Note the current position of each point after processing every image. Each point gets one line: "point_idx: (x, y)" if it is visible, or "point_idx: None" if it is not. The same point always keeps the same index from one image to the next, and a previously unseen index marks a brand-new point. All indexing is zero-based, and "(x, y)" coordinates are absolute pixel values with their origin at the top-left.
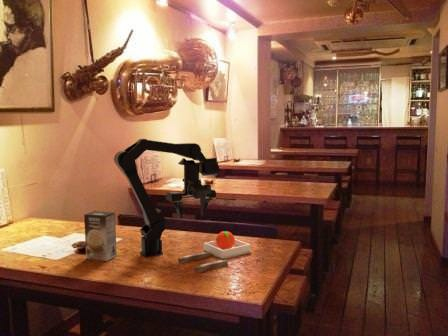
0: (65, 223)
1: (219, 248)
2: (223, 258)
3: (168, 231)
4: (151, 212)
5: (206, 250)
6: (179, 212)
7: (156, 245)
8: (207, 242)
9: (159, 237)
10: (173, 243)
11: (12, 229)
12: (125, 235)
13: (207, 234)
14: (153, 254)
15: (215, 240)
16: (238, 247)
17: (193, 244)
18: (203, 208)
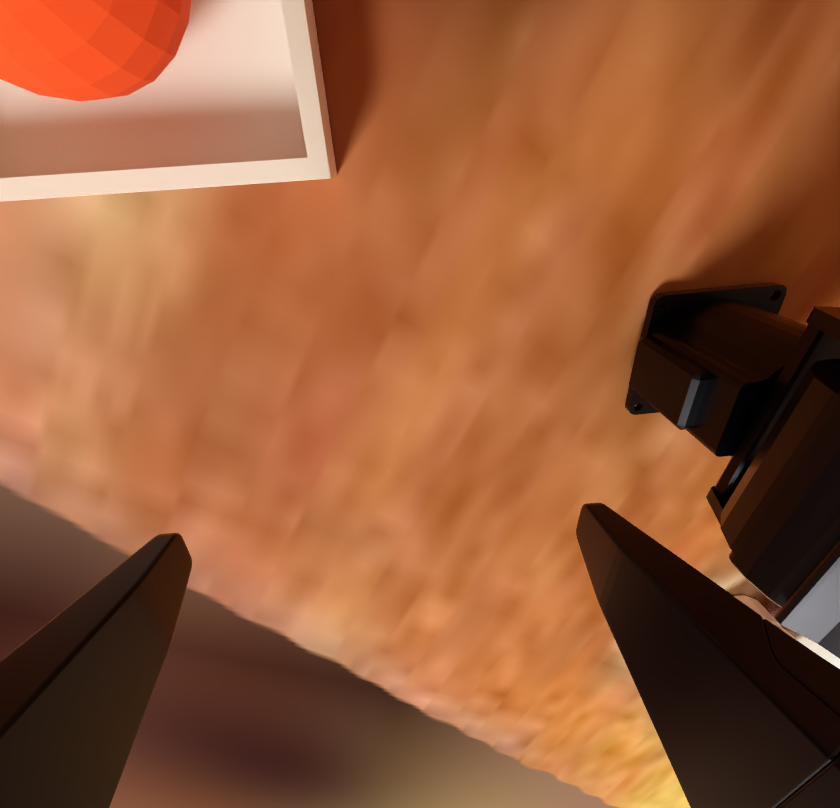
0: (642, 798)
1: (164, 90)
2: None
3: (375, 659)
4: None
5: (327, 114)
6: (720, 591)
7: (752, 323)
8: (283, 166)
9: (833, 312)
10: (457, 477)
11: None
12: (578, 665)
13: None
14: (736, 290)
15: (162, 187)
16: None
17: (345, 397)
18: (70, 682)
